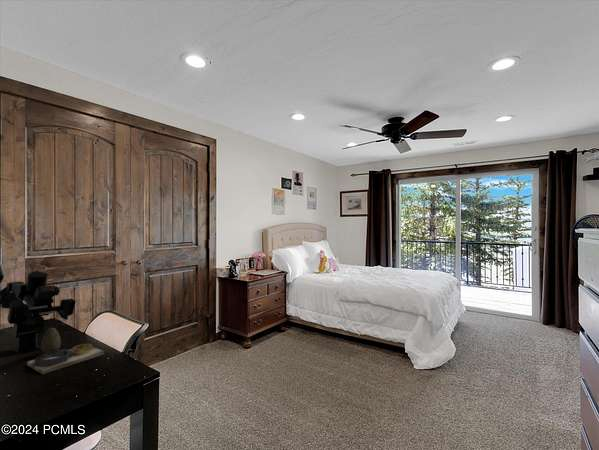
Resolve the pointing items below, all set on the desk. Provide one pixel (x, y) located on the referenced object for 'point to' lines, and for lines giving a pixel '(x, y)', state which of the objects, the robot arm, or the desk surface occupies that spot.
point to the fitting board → (71, 361)
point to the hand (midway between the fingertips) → (51, 320)
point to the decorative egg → (50, 341)
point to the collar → (64, 355)
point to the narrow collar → (82, 349)
